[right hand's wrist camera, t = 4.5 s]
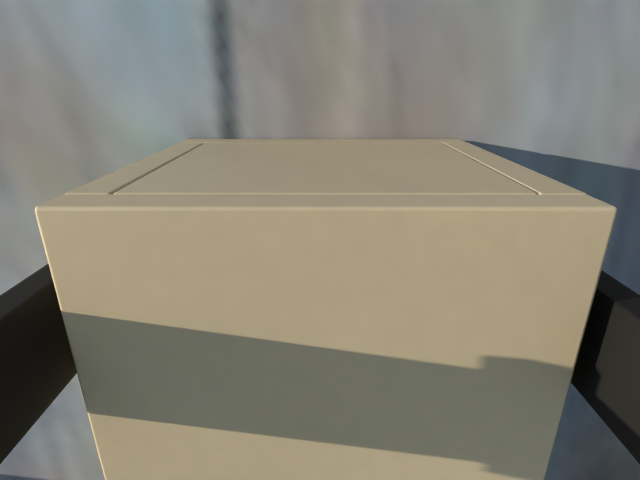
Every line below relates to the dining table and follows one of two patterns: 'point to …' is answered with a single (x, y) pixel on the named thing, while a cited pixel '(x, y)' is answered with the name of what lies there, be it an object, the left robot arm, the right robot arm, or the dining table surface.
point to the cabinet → (325, 309)
